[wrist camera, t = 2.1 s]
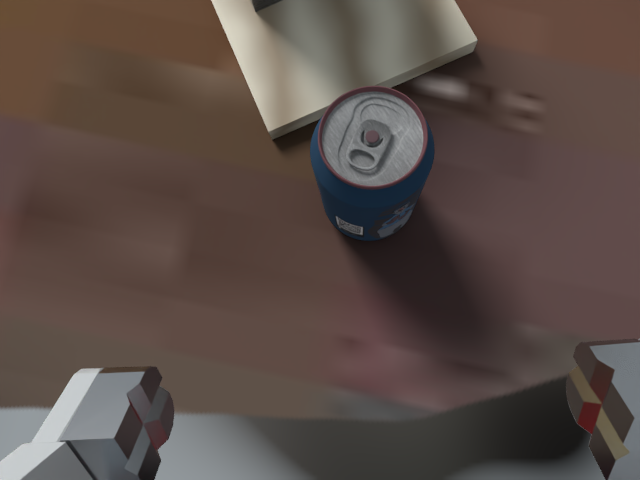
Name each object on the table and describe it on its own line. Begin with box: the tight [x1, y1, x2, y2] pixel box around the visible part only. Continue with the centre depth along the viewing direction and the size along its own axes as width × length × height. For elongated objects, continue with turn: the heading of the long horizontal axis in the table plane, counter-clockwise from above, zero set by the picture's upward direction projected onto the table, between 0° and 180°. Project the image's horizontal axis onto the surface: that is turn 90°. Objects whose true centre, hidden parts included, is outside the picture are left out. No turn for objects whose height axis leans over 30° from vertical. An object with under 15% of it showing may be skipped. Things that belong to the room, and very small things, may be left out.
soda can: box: [310, 86, 434, 241], centre depth 29 cm, size 7×7×12 cm
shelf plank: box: [211, 0, 478, 140], centre depth 38 cm, size 18×16×2 cm
